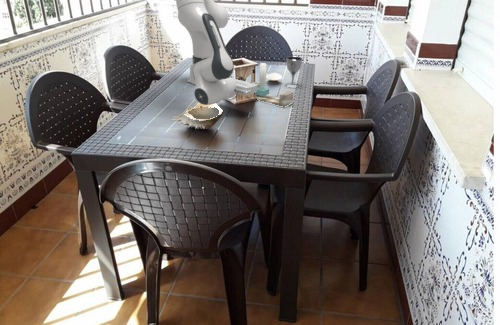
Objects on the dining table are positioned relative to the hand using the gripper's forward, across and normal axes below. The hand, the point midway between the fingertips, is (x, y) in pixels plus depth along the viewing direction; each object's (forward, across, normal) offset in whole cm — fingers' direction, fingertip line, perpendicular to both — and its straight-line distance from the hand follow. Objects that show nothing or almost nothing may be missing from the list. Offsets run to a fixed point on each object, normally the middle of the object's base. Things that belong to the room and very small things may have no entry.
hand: (246, 81), depth 182 cm
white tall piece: (+12, 0, +9) cm, 15 cm away
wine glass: (+40, 0, +11) cm, 41 cm away
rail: (+12, -4, +11) cm, 17 cm away
